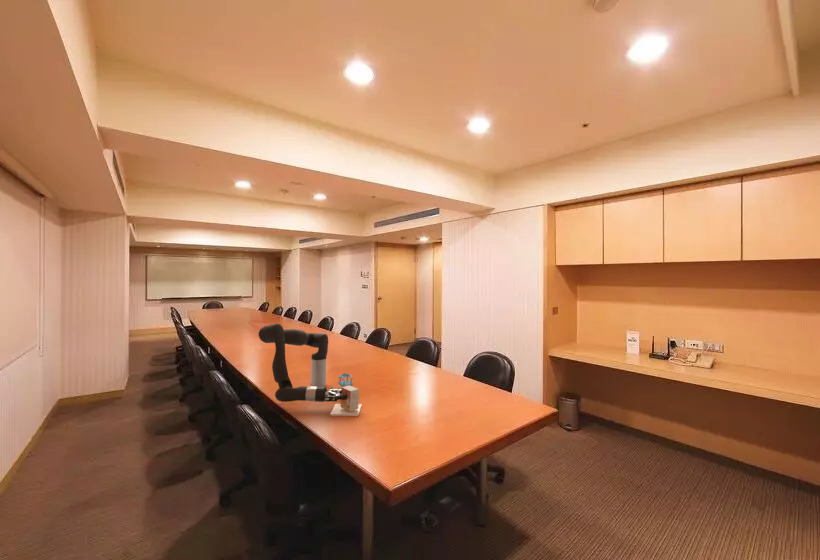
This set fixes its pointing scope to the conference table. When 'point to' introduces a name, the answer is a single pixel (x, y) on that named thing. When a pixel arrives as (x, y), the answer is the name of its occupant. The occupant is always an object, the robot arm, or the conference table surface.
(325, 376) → the robot arm
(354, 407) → the small box
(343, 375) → the chair
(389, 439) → the conference table surface
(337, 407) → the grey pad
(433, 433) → the conference table surface
